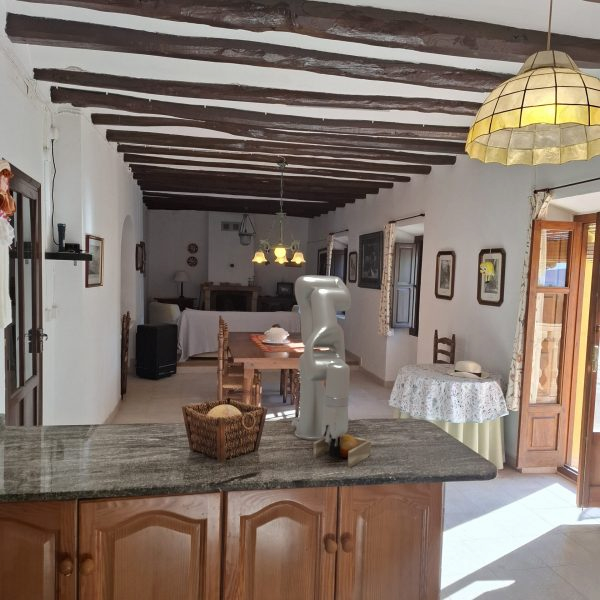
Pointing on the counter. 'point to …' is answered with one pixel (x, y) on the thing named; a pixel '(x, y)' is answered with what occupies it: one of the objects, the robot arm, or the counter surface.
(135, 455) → the counter surface
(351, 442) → the fruit
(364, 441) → the box
